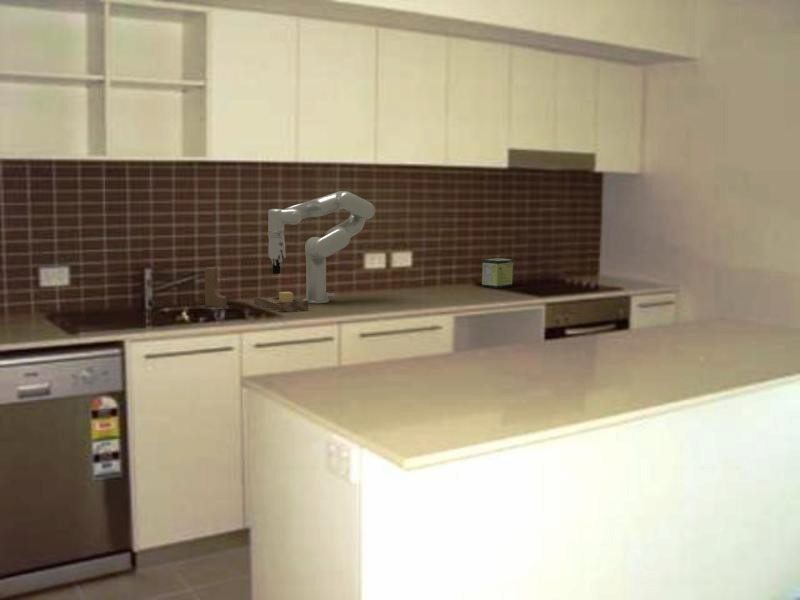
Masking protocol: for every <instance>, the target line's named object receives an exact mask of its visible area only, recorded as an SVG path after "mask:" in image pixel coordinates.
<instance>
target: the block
mask: <svg viewBox="0 0 800 600" xmlns="http://www.w3.org/2000/svg"><path fill="white" fill-rule="evenodd" d="M278 297H279V301H282V302H292V301H293V299H294V293H293V292H291V291H280V292H278Z"/></svg>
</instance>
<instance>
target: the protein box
mask: <svg viewBox="0 0 800 600" xmlns="http://www.w3.org/2000/svg"><path fill="white" fill-rule="evenodd" d="M513 269H514V259H510V258H499V257H497V258H489V259H482V275H481V276H482V277H481V287H482V288H487V289H489V288H491V289H501V288H502V289H504V288H509V286H511V287H513V275H514V273H513V271H514V270H513ZM503 287H504V288H503Z"/></svg>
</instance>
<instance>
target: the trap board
mask: <svg viewBox="0 0 800 600" xmlns="http://www.w3.org/2000/svg"><path fill="white" fill-rule="evenodd" d="M253 298H254V303H255V305H257V304H258V306H260V305H261V307H263V306H265V307H264V308H266V307H268V308H267V309H269V308H271V309H270V310H272V309H274V310H273V311H275V310H278V311H280V312H279V313H284V312H283V311H293V312H298V311H297V310H306V311H309V303H308V301H303V300H297V299H294V298H293V301H292V302H282V301H279V296H277V297H276V296H275V297H273V296H272V297H257V296H254V297H253ZM278 311H277V312H278Z"/></svg>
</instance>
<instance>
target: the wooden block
mask: <svg viewBox="0 0 800 600" xmlns="http://www.w3.org/2000/svg"><path fill="white" fill-rule="evenodd" d="M204 295H205V296H204V301H205V303H204V306H205V307H208V308H209V307H210V308H225V307H227V304H228V303H227V302H228V301H227V296H225V295H222V294H220V293H219V290H218V268H217V267H214V266H213V267H211V266H210V267H205V268H204Z"/></svg>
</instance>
